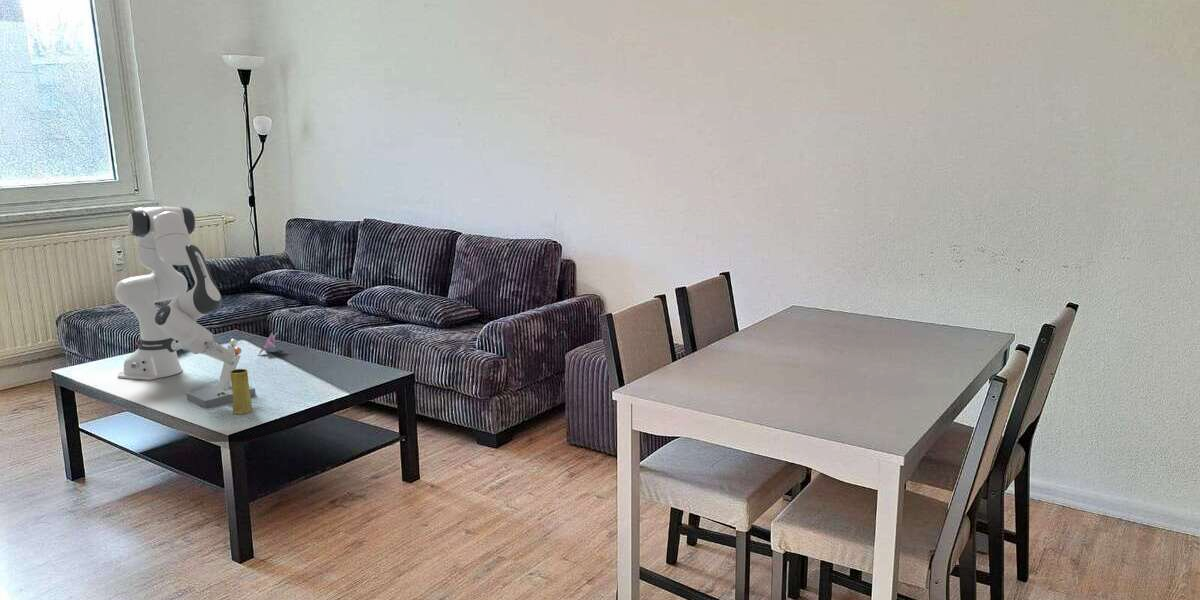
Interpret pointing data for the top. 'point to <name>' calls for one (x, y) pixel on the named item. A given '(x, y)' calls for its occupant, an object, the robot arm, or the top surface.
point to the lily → (269, 343)
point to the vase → (240, 391)
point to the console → (213, 396)
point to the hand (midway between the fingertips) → (230, 362)
